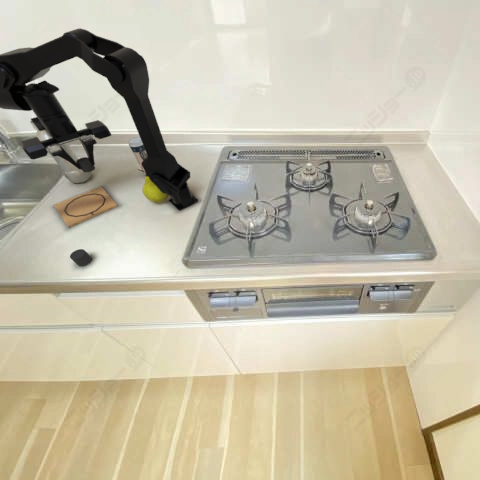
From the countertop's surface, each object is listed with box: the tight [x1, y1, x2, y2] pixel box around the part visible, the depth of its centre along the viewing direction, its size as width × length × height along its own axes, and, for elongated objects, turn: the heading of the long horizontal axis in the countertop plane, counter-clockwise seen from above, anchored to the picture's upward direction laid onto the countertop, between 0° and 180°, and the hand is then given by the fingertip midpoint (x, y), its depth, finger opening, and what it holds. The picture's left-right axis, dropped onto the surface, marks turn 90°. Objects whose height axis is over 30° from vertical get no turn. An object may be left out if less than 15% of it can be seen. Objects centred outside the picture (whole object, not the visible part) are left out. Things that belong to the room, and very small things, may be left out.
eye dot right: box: [76, 156, 96, 173], centre depth 80 cm, size 3×3×3 cm
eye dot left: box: [69, 248, 93, 268], centre depth 69 cm, size 3×3×3 cm
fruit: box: [137, 168, 169, 204], centre depth 82 cm, size 7×7×12 cm
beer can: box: [128, 136, 147, 176], centre depth 92 cm, size 5×5×12 cm
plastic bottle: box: [29, 119, 92, 184], centre depth 85 cm, size 6×7×20 cm
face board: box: [53, 185, 118, 229], centre depth 83 cm, size 13×13×1 cm
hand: (87, 166), depth 80 cm, fingers closed on eye dot right, 3 cm apart
